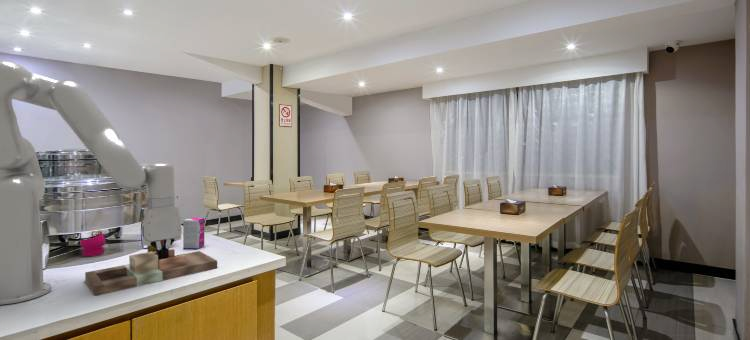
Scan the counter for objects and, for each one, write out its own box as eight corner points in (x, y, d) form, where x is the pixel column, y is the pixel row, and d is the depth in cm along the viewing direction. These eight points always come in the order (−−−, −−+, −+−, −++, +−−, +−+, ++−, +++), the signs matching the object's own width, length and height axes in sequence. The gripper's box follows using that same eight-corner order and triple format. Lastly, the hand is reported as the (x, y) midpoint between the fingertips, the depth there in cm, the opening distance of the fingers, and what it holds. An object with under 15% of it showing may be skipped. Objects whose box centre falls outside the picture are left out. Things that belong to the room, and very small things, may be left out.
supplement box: (198, 249, 139) (197, 220, 139) (182, 249, 139) (182, 220, 139) (205, 245, 145) (204, 217, 144) (190, 245, 145) (190, 217, 145)
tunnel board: (199, 257, 129) (199, 242, 129) (217, 267, 119) (217, 251, 118) (85, 280, 106) (84, 262, 106) (94, 295, 96) (94, 275, 95)
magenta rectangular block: (85, 258, 127) (83, 201, 126) (77, 254, 131) (75, 199, 130) (109, 253, 133) (107, 199, 132) (100, 250, 137) (98, 197, 136)
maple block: (135, 273, 106) (134, 259, 105) (129, 268, 110) (129, 255, 109) (158, 268, 110) (158, 255, 110) (152, 264, 114) (151, 251, 114)
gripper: (135, 207, 105) (138, 269, 106) (190, 201, 115) (192, 258, 116) (129, 204, 110) (131, 263, 111) (182, 199, 120) (184, 253, 122)
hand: (162, 260), depth 114 cm, fingers closed
